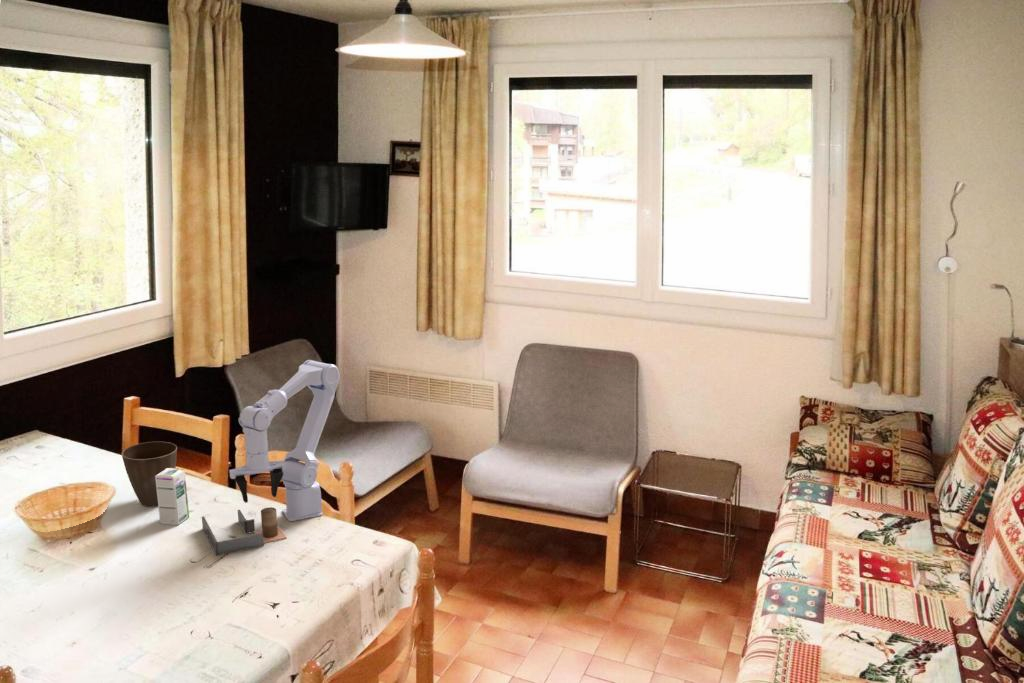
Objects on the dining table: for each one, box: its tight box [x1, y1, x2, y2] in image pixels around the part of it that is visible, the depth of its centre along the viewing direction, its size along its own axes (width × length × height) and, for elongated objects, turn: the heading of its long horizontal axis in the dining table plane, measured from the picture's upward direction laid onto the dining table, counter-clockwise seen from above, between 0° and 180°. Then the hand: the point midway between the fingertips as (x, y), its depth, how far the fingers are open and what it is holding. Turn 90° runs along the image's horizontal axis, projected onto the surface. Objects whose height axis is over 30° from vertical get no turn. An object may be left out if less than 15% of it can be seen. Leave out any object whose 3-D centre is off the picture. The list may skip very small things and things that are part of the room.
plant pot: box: [121, 441, 178, 508], centre depth 272 cm, size 15×15×16 cm
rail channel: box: [201, 509, 265, 557], centre depth 251 cm, size 12×18×4 cm
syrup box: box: [155, 467, 190, 526], centre depth 260 cm, size 6×6×14 cm
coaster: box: [253, 526, 288, 544], centre depth 252 cm, size 7×7×1 cm
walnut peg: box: [260, 506, 278, 538], centre depth 252 cm, size 4×4×7 cm
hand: (259, 498), depth 252 cm, fingers open, 7 cm apart
